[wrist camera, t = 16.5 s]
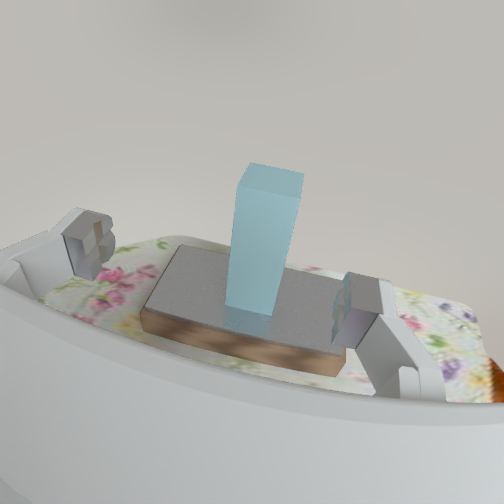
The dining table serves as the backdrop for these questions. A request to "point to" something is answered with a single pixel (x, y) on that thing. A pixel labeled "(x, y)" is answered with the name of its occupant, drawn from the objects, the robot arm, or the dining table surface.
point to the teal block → (261, 236)
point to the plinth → (245, 315)
